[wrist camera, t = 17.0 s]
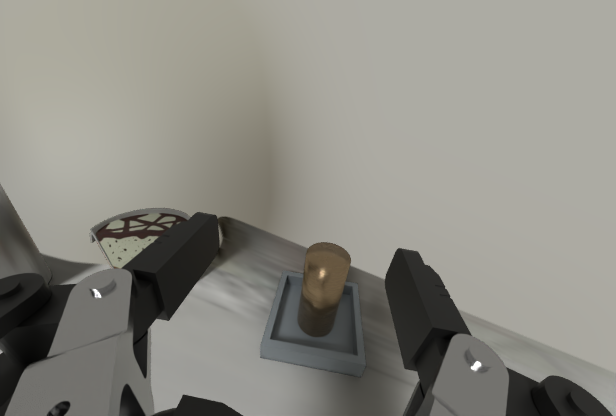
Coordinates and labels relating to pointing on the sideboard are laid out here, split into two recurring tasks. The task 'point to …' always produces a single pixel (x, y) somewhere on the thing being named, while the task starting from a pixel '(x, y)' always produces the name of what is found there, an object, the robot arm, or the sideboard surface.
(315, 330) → the bronze can
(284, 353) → the tray
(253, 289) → the sideboard surface
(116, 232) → the food container
